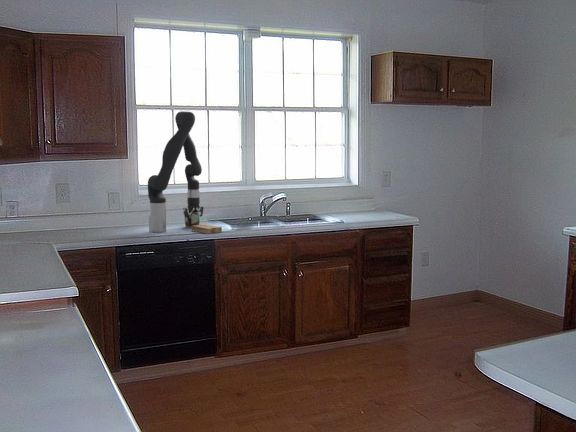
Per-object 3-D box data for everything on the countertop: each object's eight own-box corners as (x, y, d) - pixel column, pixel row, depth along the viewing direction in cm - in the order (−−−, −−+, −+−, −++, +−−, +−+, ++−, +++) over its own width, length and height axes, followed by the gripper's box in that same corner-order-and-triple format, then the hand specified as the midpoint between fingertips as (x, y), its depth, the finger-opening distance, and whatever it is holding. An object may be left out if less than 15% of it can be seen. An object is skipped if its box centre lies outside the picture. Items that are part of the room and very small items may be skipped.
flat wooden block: (208, 233, 365) (208, 228, 365) (191, 230, 376) (191, 225, 376) (221, 232, 372) (221, 227, 372) (205, 229, 383) (204, 224, 383)
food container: (205, 226, 391) (205, 210, 389) (198, 228, 385) (198, 212, 384) (190, 225, 397) (189, 209, 396) (183, 226, 392) (183, 210, 391)
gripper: (187, 197, 381) (187, 225, 383) (206, 196, 391) (206, 223, 393) (180, 196, 386) (180, 224, 388) (199, 195, 396) (199, 222, 398)
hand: (193, 223), depth 390 cm, fingers closed on food container, 5 cm apart
